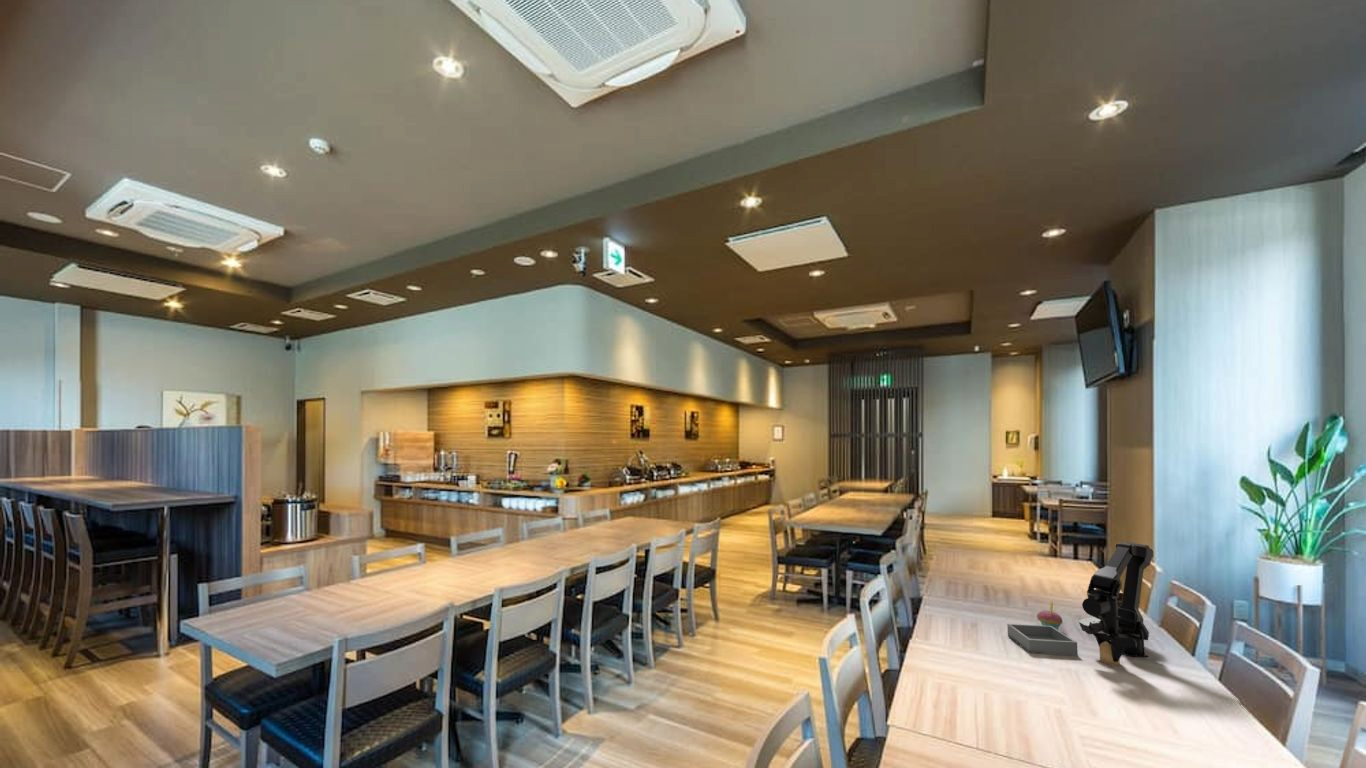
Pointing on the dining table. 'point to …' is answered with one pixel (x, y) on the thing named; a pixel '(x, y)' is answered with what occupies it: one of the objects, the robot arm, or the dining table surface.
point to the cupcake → (1049, 618)
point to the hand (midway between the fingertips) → (1109, 658)
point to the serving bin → (1042, 639)
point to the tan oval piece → (1107, 654)
